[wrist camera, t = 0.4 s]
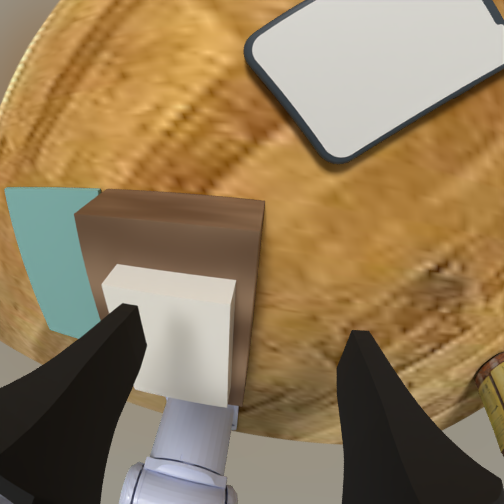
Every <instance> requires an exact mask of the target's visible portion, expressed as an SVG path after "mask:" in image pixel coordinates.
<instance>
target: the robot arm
mask: <svg viewBox="0 0 504 504" xmlns="http://www.w3.org/2000/svg"><path fill="white" fill-rule="evenodd" d="M146 348H147V343H146V339H145V335H144V331H143V326H142V322H141V318H140V313H139V309H138V306H137V305H131V304H125V303H122V304H121V305H119V306H118V307H117V308H115V309H114V310H113V311H112V312H111V313H109V314H108V315H107V316H106V317H105V318H103V319H102V320H101V321H100V322H99V323H97V324H96V325H95V326H94V327H93V328H91V329H90V330H89V331H88V332H87V333H85V334H84V335H83V336H82V337H80V338H79V339H78V340H77V341H75V342H74V343H73V344H71V345H70V346H69V347H67V348H66V349H65V350H63V351H62V352H61V353H60V354H58V355H57V356H55V357H54V358H53V359H51V360H50V361H48V362H47V363H45V364H44V365H42V366H40V367H39V368H37V369H36V370H34V371H32V372H31V373H29V374H27V375H25V376H23V377H21V378H20V379H18V380H16V381H14V382H12V383H10V384H8V385H6V386H4V387H1V388H0V504H100V501H101V492H102V484H103V479H104V473H105V467H106V463H107V458H108V454H109V450H110V446H111V442H112V438H113V434H114V431H115V428H116V425H117V422H118V420H119V417H120V415H121V412H122V410H123V408H124V405H125V403H126V401H127V399H128V396H129V394H130V392H131V390H132V387H133V385H134V383H135V380H136V378H137V376H138V374H139V371H140V368H141V365H142V362H143V359H144V355H145V352H146ZM337 399H338V407H339V415H340V423H341V431H342V440H343V449H344V480H343V496H342V504H504V489H503V484H502V480H501V479H500V478H499V477H497V476H496V475H494V474H493V473H491V472H490V471H488V470H487V469H485V468H483V467H482V466H481V465H479V464H478V463H477V462H475V461H474V460H473V459H472V458H471V457H469V456H468V455H467V454H466V453H464V452H463V451H462V450H461V449H460V448H459V447H458V446H456V444H455V443H453V442H452V441H451V440H450V439H449V438H448V437H447V436H446V435H445V434H444V433H443V432H442V431H441V430H440V429H439V428H438V427H437V425H436V424H435V423H434V422H433V421H432V420H431V419H430V417H429V416H428V415H427V414H426V413H425V412H424V410H423V409H422V408H421V407H420V405H419V404H418V403H417V402H416V400H415V399H414V398H413V396H412V395H411V394H410V392H409V391H408V389H407V388H406V387H405V385H404V384H403V382H402V381H401V379H400V378H399V376H398V375H397V373H396V372H395V370H394V369H393V367H392V366H391V364H390V363H389V361H388V360H387V358H386V357H385V355H384V354H383V352H382V350H381V349H380V347H379V346H378V344H377V343H376V341H375V339H374V338H373V336H372V335H371V333H370V332H369V331H360V330H352V331H351V334H350V336H349V339H348V341H347V344H346V346H345V349H344V351H343V354H342V356H341V359H340V361H339V364H338V366H337ZM166 400H167V403H166V406H165V409H164V412H163V415H162V419H161V422H160V425H159V428H158V431H157V435H156V438H155V442H154V444H153V448H152V451H151V454H150V457H147V458H146V461H145V464H143V463H141V462H137V463H136V464H134V465H132V466H131V467H130V469H129V471H128V473H127V475H126V478H125V481H124V484H123V487H122V492H121V496H120V501H119V504H238V498H237V493H236V492H235V490H234V489H233V487H232V486H231V485H226V483H227V477H225V476H224V470H225V464H226V458H227V452H228V446H229V440H230V433H231V430H236V429H237V420H238V408H239V406H234V405H228V406H227V408H225V407H219V406H212V405H206V404H200V403H195V402H189V401H184V400H179V399H174V398H170V397H166Z"/></svg>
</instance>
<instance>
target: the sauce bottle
mask: <svg viewBox="0 0 504 504" xmlns="http://www.w3.org/2000/svg"><path fill="white" fill-rule="evenodd" d="M475 382H476V385H477V387H478V389H479V395H480V397H481V400H482V402H483V405H484V407H485V409H486V412H487V414H488V417H489V420H490V422H491V425H492V427H493V430H494V433H495V436H496V438H497V442H498V445H499V448H500V451H501V453H502V454H503V456H504V352H502V353H499V354H497V355H496V356H495V357H494V358H492V359H491V360H490V361H488V362H487V363H485V364H484V366H483V367H482V368H481V369H480V370H479V372H478V373H477V375H476V378H475Z"/></svg>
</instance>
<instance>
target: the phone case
mask: <svg viewBox="0 0 504 504" xmlns="http://www.w3.org/2000/svg"><path fill="white" fill-rule="evenodd" d="M244 58H245V60H246V62H247V64H248V65H249V66H250V68H251V69H252V70H253V71H254V72H255V73H256V74H257V76H258V77H259V78H260V79H261V80H262V82H263V83H264V84H265V85H266V86H267V88H268V89H269V90H270V91H271V92H272V94H273V95H274V96H275V97H276V99H277V100H278V101H279V102H280V104H281V105H282V106H283V107H284V109H285V110H286V111H287V112H288V114H289V115H290V116H291V118H292V119H293V120H294V122H295V123H296V124H297V125H298V127H299V128H300V129H301V131H302V132H303V133H304V135H305V136H306V138H307V139H308V140H309V142H310V143H311V144H312V146H313V147H314V149H315V150H316V151H317V153H318V154H319V155H320V156H321V157H322V158H323V159H324V160H326V161H328V162H330V163H333V164H344V163H348V162H350V161H352V160H353V159H355V158H356V157H358V156H360V155H361V154H363V153H364V152H366V151H368V150H369V149H371V148H372V147H374V146H376V145H377V144H379V143H380V142H382V141H384V140H385V139H387V138H388V137H390V136H392V135H393V134H395V133H397V132H398V131H400V130H401V129H403V128H405V127H406V126H408V125H410V124H411V123H413V122H415V121H416V120H418V119H420V118H421V117H423V116H424V115H426V114H428V113H429V112H431V111H433V110H434V109H436V108H438V107H439V106H441V105H443V104H444V103H446V102H448V101H450V100H451V99H454V98H456V97H458V96H459V95H461V94H463V93H465V92H466V91H468V90H470V89H471V88H473V87H474V86H475V85H477V84H478V83H480V82H482V81H484V80H485V79H487V78H489V77H491V76H492V75H494V74H496V73H498V72H499V71H501V70H503V69H504V20H503V18H502V16H501V14H500V12H499V11H498V9H497V7H496V6H495V4H494V2H493V1H492V0H305V1H303V2H301V3H299V4H298V5H296V6H294V7H293V8H291V9H289V10H288V11H286V12H285V13H283V14H281V15H280V16H278V17H277V18H275V19H274V20H272V21H271V22H269V23H268V24H266V25H265V26H263V27H262V28H260V29H259V30H257V31H256V32H254V33H253V34H252V35H251V36H250V37H249V38H248V39H247V41H246V43H245V45H244Z"/></svg>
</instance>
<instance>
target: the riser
mask: <svg viewBox="0 0 504 504" xmlns="http://www.w3.org/2000/svg"><path fill="white" fill-rule="evenodd" d="M264 206H265V201H261V200H252V199H242V198H231V197H221V196H209V195H197V194H185V193H171V192H156V191H139V190H120V189H106V190H105V191H103V192H102V193H101V194H99V195H98V196H96V197H95V198H94V199H92V200H91V201H90V202H88V203H87V204H86V205H85V206H83V207H82V208H81V209H79V210H78V211H77V212H76V213H74V218H75V223H76V228H77V233H78V238H79V243H80V247H81V252H82V256H83V260H84V264H85V268H86V272H87V276H88V280H89V283H90V287H91V291H92V294H93V298H94V301H95V304H96V308H97V311H98V314H99V317H100V320H102V319H103V318H105V317H106V316H107V315H108V314H109V311H108V307H107V304H106V300H105V296H104V293H103V289H102V285H101V284H102V283H103V282H104V280H105V279H106V278H107V276H108V275H109V274H110V272H111V271H112V270H113V269H114V267H115V266H116V265H117V264H120V265H127V266H134V267H141V268H148V269H155V270H162V271H169V272H176V273H184V274H191V275H199V276H207V277H215V278H223V279H231V280H236V292H235V311H234V331H233V352H232V374H231V389H230V394H229V400H228V405H234V406H242V405H243V398H244V391H245V384H246V377H247V370H248V360H249V351H250V342H251V333H252V323H253V314H254V304H255V295H256V285H257V275H258V266H259V256H260V246H261V236H262V226H263V216H264ZM133 386H134V385H133Z"/></svg>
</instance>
